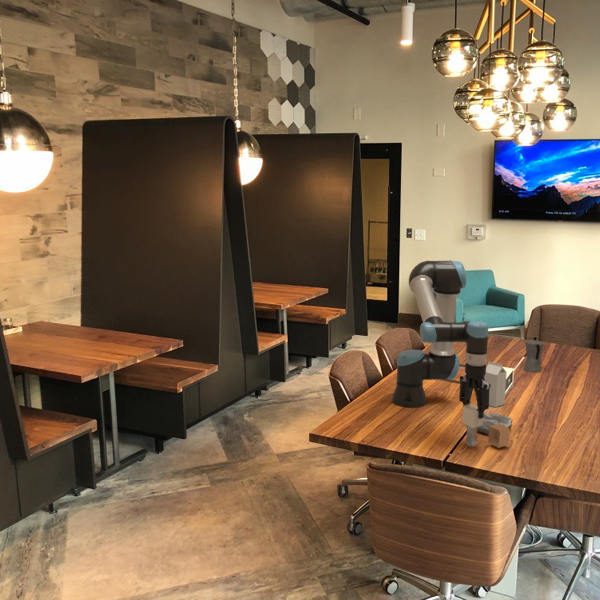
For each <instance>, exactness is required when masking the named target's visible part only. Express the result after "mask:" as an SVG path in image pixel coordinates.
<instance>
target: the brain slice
mask: <svg viewBox="0 0 600 600" xmlns="http://www.w3.org/2000/svg"><path fill="white" fill-rule="evenodd" d="M483 416H484V417H483V425H482V426H479V427H476V428H477V432H479V433H481V434H482V433H483V434H484V435H488V436H489V426H492V425H496V424H501V425H503V426H506V427H508V428H510V429H511V427H512V423H513V420H514V418H512V417H509V416H506V415H502V414H498V413H484V415H483Z"/></svg>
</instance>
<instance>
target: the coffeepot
mask: <svg viewBox="0 0 600 600" xmlns="http://www.w3.org/2000/svg"><path fill="white" fill-rule="evenodd" d="M537 339H538V337H537V336H534V337H533V339H530V340H526V341H525V350H526V351H525V353H526V358H525V362H524V367H523V370H524V371H525V372H528V373H541V372H542V371H543V369H542V368H543V367H542V359H541V356H542V355H543V354H542V353H543V348H544V344H545V343H544V342H542V341H540V340H537Z"/></svg>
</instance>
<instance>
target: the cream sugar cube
mask: <svg viewBox="0 0 600 600" xmlns="http://www.w3.org/2000/svg"><path fill="white" fill-rule="evenodd" d="M462 407H463V406H462ZM476 409H478V407H477V404H476V405H475V404H471V405H469V406H464V407H463V408H462V421H461V423H462V424H463V425H465V426H467V427H472V428H473V427H475V419H476ZM482 425H483V418H482Z"/></svg>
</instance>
